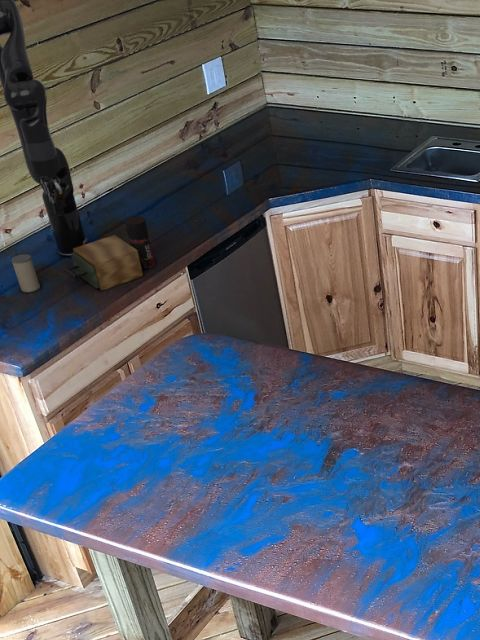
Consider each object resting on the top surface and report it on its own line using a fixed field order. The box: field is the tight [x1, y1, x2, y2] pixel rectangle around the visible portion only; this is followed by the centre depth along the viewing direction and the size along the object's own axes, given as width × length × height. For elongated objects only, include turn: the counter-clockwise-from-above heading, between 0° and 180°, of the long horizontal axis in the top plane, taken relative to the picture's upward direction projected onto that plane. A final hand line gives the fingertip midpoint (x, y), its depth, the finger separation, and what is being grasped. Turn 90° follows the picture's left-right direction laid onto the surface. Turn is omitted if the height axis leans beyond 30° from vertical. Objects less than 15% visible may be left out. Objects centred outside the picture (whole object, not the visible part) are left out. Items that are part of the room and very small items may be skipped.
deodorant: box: [124, 216, 156, 270], centre depth 284 cm, size 6×6×15 cm
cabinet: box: [73, 234, 144, 291], centre depth 281 cm, size 14×15×9 cm
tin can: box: [10, 253, 41, 294], centre depth 274 cm, size 6×6×10 cm
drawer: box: [63, 252, 99, 289], centre depth 279 cm, size 17×14×7 cm
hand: (59, 213), depth 265 cm, fingers closed
